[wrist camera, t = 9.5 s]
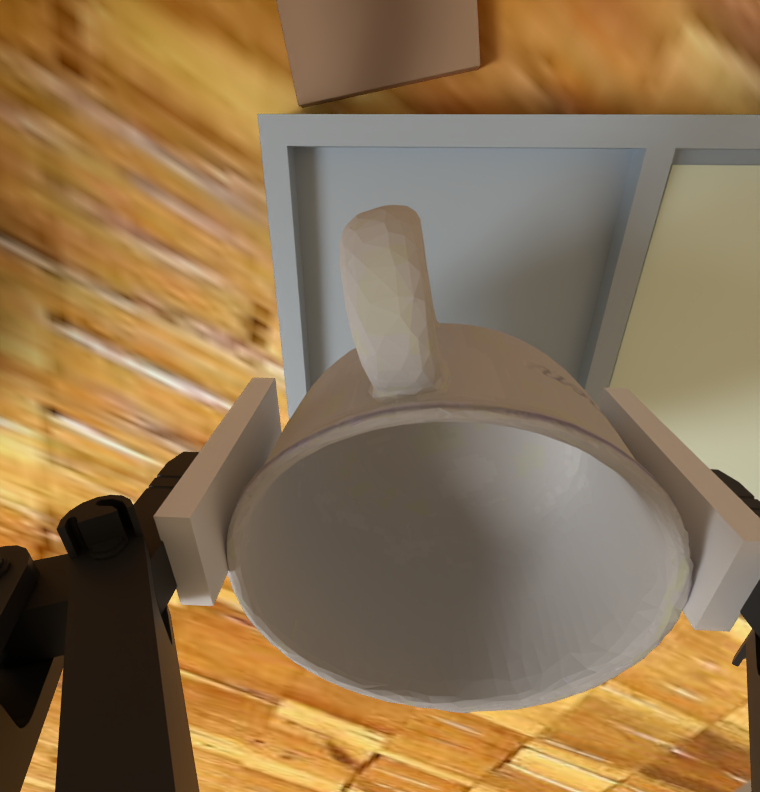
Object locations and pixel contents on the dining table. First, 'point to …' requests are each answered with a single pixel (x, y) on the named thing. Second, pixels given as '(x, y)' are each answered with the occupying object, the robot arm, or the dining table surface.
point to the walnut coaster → (375, 44)
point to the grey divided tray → (546, 248)
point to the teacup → (452, 511)
